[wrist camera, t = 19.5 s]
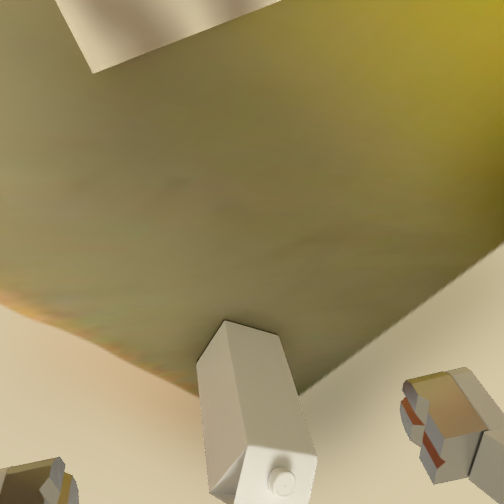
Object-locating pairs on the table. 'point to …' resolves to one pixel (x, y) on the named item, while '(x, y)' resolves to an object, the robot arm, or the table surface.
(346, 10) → the table surface
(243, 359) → the milk carton
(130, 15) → the board
